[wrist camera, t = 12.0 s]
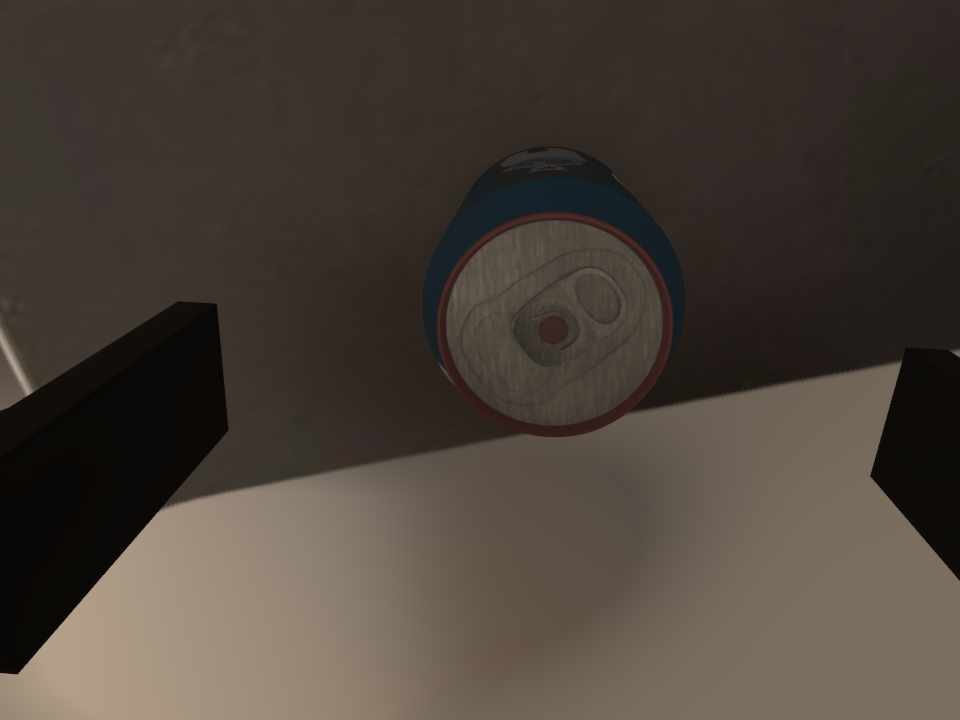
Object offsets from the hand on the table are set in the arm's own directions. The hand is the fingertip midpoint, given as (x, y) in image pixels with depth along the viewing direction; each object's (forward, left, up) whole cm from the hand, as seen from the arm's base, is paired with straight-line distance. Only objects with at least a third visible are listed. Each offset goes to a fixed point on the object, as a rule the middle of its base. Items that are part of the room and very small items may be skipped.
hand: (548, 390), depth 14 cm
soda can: (0, 0, -16) cm, 16 cm away
